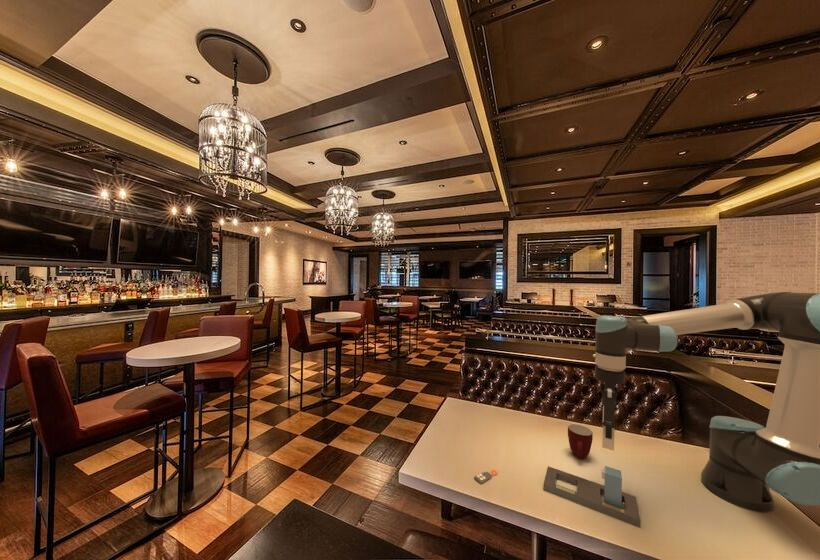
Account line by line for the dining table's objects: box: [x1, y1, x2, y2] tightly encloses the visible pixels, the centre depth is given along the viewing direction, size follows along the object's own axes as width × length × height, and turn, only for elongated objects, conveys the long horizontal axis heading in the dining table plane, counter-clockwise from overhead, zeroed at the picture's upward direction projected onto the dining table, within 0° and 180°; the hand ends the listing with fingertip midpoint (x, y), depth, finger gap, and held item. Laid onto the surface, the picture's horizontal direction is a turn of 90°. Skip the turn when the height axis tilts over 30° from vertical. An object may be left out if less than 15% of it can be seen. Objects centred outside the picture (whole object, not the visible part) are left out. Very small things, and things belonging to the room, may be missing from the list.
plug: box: [601, 465, 623, 508], centre depth 84 cm, size 5×4×10 cm
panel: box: [543, 465, 642, 528], centre depth 87 cm, size 24×10×2 cm, turn 57°
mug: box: [567, 423, 594, 460], centre depth 106 cm, size 10×8×10 cm
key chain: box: [473, 469, 501, 485], centre depth 96 cm, size 13×4×2 cm, turn 123°
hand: (607, 437), depth 86 cm, fingers open, 13 cm apart
